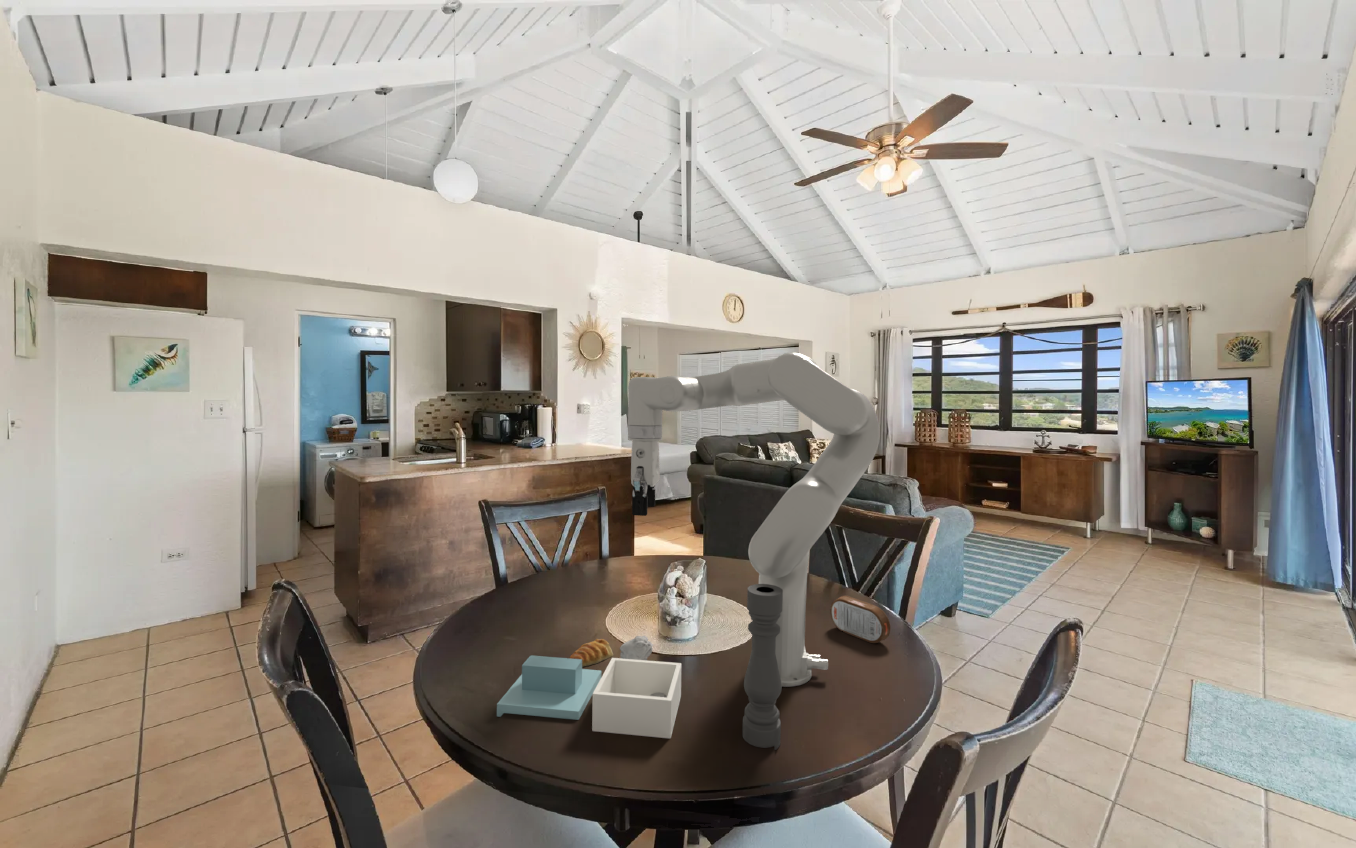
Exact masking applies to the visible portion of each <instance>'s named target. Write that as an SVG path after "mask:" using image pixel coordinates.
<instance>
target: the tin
mask: <svg viewBox="0 0 1356 848" xmlns="http://www.w3.org/2000/svg"><path fill="white" fill-rule="evenodd" d="M829 614H830V619H831V621H832V623H833V625H834V626H835V627H836V628H837V629H838V630H839V631H840V632H842V631H843V633H845V634H848V635H849V636H853V637H855V638H858V639H860V640H862V641H865V642H867V643H870V644H877V643H881V642H882V641H885V640H886V639H887V638H888V637H889V636H890V634H891V622H890V619H889V617H888V616H887V614H886V612H885V611H884V610H883V609H882V608H880V607H879V606H877V605H875V604H872V603H869V602H867V601H863V600H860V599H858V598H854V597H852V596H850V595H841V596H839V597H838V598H836V599H834V600H833V601H832V602H831V603H830V608H829Z"/></svg>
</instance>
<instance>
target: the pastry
mask: <svg viewBox="0 0 1356 848" xmlns="http://www.w3.org/2000/svg"><path fill="white" fill-rule="evenodd" d="M568 658H570V659H582V668H584V667H587V666H592V665H595V664H599V663H602V661H603V662H604V661H605V660H607V659H610V658H614V653H613V650H612V648H611V645H610V643H609V642H608V641H607V640H606V639H604V638H595V640H593V641H589V642H587V643H584V644H582V645H581V646H580V647H579V648H578V649H576V650H575V651H574V652H573V653H572V654H571V655H570V656H569V657H568Z"/></svg>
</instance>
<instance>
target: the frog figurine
mask: <svg viewBox="0 0 1356 848" xmlns="http://www.w3.org/2000/svg"><path fill="white" fill-rule="evenodd" d="M653 646H654V644H653V643H652V642H651V641H650V640H649V638H648V636H646V635H642V636H641V635H636V636H635V637H634V638H632V639H630V640H628V641H626V642H624V643H622V645H621V646H620V647H619V650H620V655H619V656H620V658H621V659H634V660H647V661H648V658H649V657H650V656H651V654H652V653H653V649H654V648H653Z"/></svg>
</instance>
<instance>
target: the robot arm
mask: <svg viewBox="0 0 1356 848" xmlns="http://www.w3.org/2000/svg"><path fill="white" fill-rule="evenodd" d="M627 388H628V391H627V393H628V394H627V396H628V399H627V401H628V403H627V440H628V441H631V459H630V463H631V465H630V480H631V482H630V483H631V485H632V486H633V487H632V488H633V489H632V497H631V499H632V500H631V505H632V506H631V507H632V508H631V514H632V516H641V517H644V516H647V515H648V508H651V507H652V508H654V507H655V506H656V485H657V484H658V483H659V482H660V479H661V477H660V476H661V474H660V473H661V472H660V471H661V470H660V469H661V467H660V446H659V445H660V444H659V442H660V441H663V411H666V412H671V413H672V412H673V413H674V412H675V413H677V412H690V411H697V410H698V411H699V410H704V409H705V410H706V409H713V408H720V407H721V408H722V407H729V406H733V407H735V406H736V407H742V406H748V405H757V404H764V403H771V402H773V403H774V402H781V401H782V402H783V401H785V402H787V403H788V404H789V405H790V406H792V407H793V408H794V409H796V410H797V411H799V413H802V414H803V415H804V416H806V417H808V419H810V420H811V421H812V422H814V423H816V424H817V425H818V426H819V427H821V428H822V429H824V430H825V431H828V432H829V433H831V434H833V437H832V438H831V441H830V442H829V444H828V445H827V446H826V448H825V449H824V450H823V452H822V453H821V454H820V455H819V457H818V458H817V459H816V462H815V463H814V464H813V465H812V466H811V468H810V469H809V470H808V472H807V473H806V474H805V475H804V476H803V478H801V479H800V480H799V481H797V482H796V483H794V484H793V485H792V486H791V487H789V489H787V490H786V492H785V493H784V494H783V495H782V497H781V498H780V499H779V500H778V502H777V503H776V505H775V506H774V507H773V508H772V510H771V511H770V512H769V514H768V515H767V516H766V518H764V519H765V520H764V521H763V522H762V524H760V526H759V527H758V529H757V531H755V532H754V534H753V536H752V537H751V539H750V542H749V545H748V551H747V552H748V558H749V562H750V564H751V566H752V568H753V569H754V570H755V571H756V572H757V573H758V584H770V585H774V586H777V587H780V588H781V589H782V590H783V604H782V612H781V613H780V617H779V619H778V621H777V622H776V623H777V624H778V625H779V626H780V633H779V634H778V635H777V637H776V651H775V653H776V658H777V663H778V668H779V673H780V678H781V683H782V687H785V688H786V687H787V688H788V687H796V686H797V687H798V686H801V685H804V684H806V683H807V682H808V681H810V680H811V678H812V672H813V671H812V670H813V669H818V670H824V671H825V670H826V671H827V670H829V660H828V659H827V658H826V659H825V658H821V654H815V653H814V654H809V652H807V651H806V646H805V643H806V642H805V641H806V640H805V639H806V637H805V636H806V608H807V607H806V603H807V586H808V585H807V583H808V569H809V567H808V566H809V560H810V559H809V558H810V550H811V549H812V547H813V546H814V545H815V543H817V542H818V540H819V538H820V537H821V536H822V535H823V534H824V532H825V531H826V530H827V528H828V527H829V525H830V524H831V522H832V521H833V520H834V518H835V517H836V514H837V513H838V511H839V510H840V507H841V505H842V503H843V502H844V501H845V500H846V498H847V497H848V496H849V494H850V493H851V492H852V491H853V489H854V487H856V485H857V483H858V482H859V480H860V479H861V478H862V476H863V475H864V474H865V473H866V471H867V470H868V469H869V467H870V465H871V464H872V462H873V459H874V458H875V456H876V453H877V451H878V447H879V443H880V439H881V437H880V436H881V427H880V422H879V417H878V415H877V413H876V410H875V408H874V406H873V404H872V403H871V401H870V399H869V398H868V397H867V396H866V395H865V394H864V393H862V392H861V391H859V390H856V389H854V388H850V387H849V386H847V385H845V384H844V383H842V382H841V381H840V380H838V379H837V378H835V377H833V376H832V375H831V374H829V373H828V372H826V371H825V370H823V369H822V368H820V367H819V366H818V364H817V363H816V362H815V360H814V359H812V358H811V357H809V356H807V355H804V354H802V353H798V352H787V353H782V354H780V355H779V356H778V357H776V358H770V359H764V360H758V361H749V362H743V363H738V364H735V365H732V366H731V367H730V368H728V369H727V370H725V371H721V372H716V373H711V374H704V375H698V376H689V377H688V376H682V375H680V376H678V375H670V376H662V377H661V376H660V377H651V376H647V377H646V376H636V377H635V376H634V377H632V378H630V379H629V381H628V387H627Z"/></svg>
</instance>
